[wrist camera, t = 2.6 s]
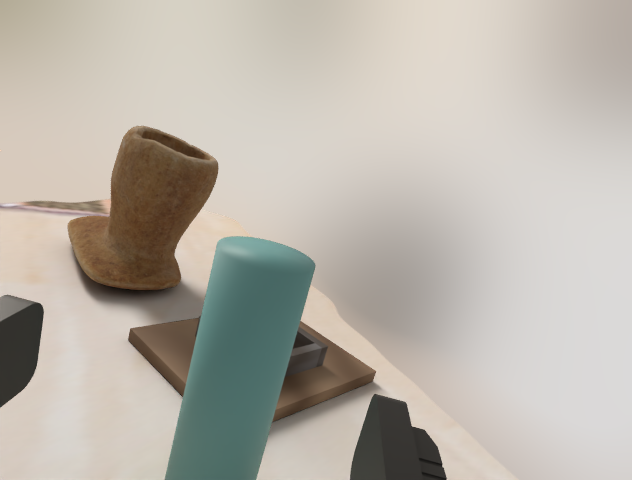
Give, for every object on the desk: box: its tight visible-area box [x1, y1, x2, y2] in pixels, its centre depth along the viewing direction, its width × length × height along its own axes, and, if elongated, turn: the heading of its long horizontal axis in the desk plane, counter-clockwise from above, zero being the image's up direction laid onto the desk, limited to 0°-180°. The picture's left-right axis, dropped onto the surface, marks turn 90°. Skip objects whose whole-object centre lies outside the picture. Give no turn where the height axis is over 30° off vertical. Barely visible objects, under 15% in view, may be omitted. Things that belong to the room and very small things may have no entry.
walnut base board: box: [128, 316, 376, 422], centre depth 39 cm, size 16×13×3 cm
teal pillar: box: [165, 236, 315, 480], centre depth 23 cm, size 4×4×14 cm
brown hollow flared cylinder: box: [68, 126, 218, 290], centre depth 49 cm, size 15×12×15 cm
